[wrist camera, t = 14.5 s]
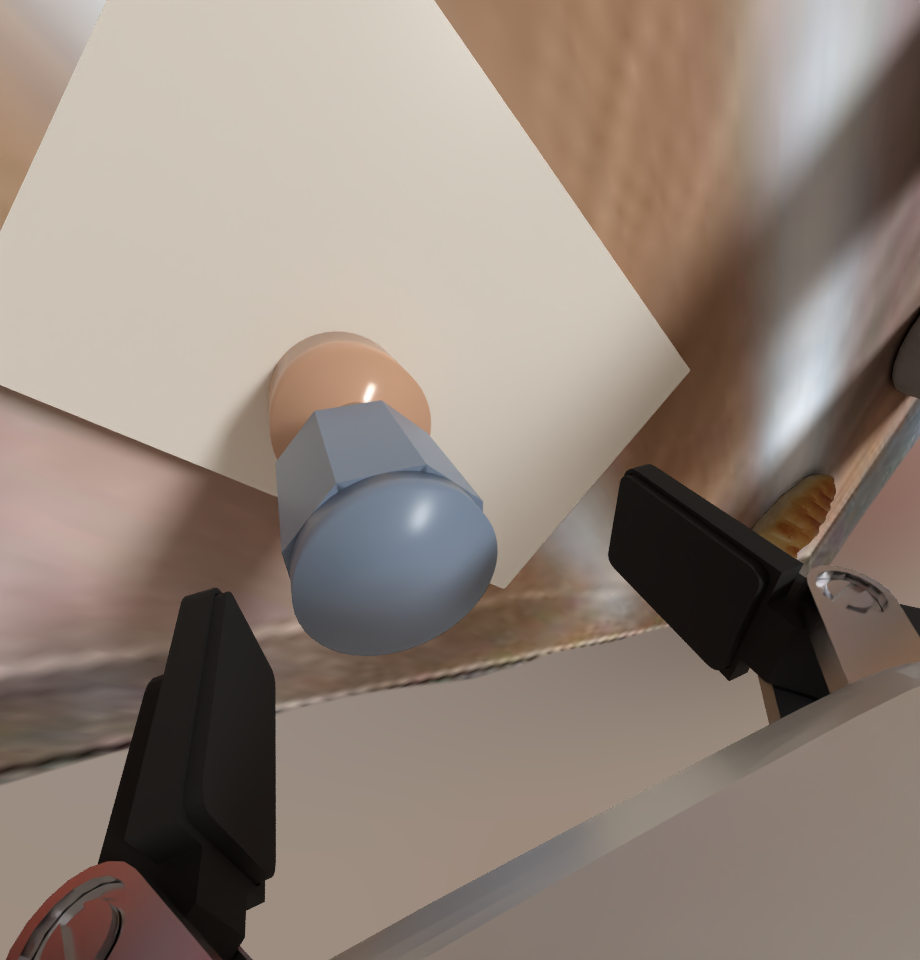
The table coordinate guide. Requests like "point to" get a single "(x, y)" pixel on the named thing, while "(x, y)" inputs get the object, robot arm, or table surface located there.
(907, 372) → the canister
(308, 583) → the cap
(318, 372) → the round stamp handle
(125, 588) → the table surface
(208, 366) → the board
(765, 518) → the pastry
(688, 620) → the robot arm
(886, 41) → the table surface
